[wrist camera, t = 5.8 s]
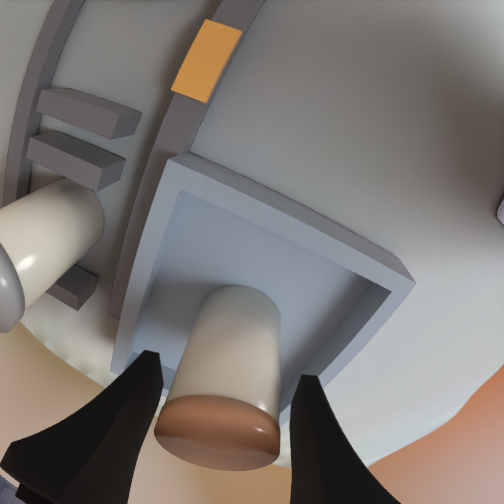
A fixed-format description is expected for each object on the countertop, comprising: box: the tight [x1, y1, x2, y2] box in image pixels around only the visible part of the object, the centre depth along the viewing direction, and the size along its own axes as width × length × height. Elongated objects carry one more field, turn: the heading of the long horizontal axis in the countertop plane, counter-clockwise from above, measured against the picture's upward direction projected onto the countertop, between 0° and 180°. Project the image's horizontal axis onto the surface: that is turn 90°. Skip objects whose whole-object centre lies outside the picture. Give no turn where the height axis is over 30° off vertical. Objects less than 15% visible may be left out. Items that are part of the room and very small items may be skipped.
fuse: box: [0, 178, 104, 333], centre depth 10 cm, size 4×4×7 cm
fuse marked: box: [154, 285, 281, 471], centre depth 11 cm, size 4×4×7 cm
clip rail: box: [3, 0, 265, 320], centre depth 9 cm, size 10×26×2 cm, turn 154°
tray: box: [110, 152, 416, 427], centre depth 14 cm, size 11×13×2 cm
